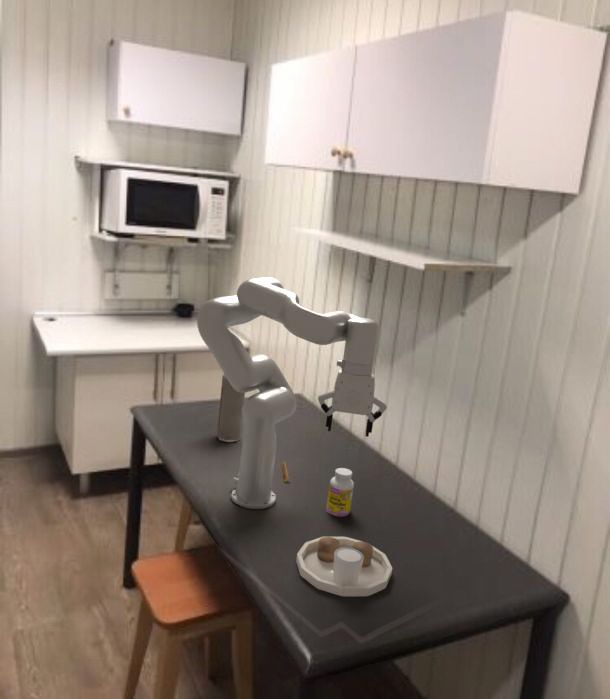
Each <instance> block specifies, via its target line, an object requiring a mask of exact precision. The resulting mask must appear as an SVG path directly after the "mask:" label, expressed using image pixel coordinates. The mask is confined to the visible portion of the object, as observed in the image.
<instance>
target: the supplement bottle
mask: <svg viewBox="0 0 610 699" xmlns="http://www.w3.org/2000/svg"><path fill="white" fill-rule="evenodd" d="M334 475H335V476H333V477H332V478H331V479H330V480H329V481H330V482H329V487H328V495H327V501H326V508H325V510H326V512H327V513H328V514H330V515H333V516H335V517H346V516H348V515H349V514H350V512H351V509H352V508H351V507H352V500H353V494H354V488H355V487H354V486H355V483H354V481H353V480H352V477H353V471H352V470H351V469H348V468H347V467H346V468H345V467H339V468H336V469H335V470H334Z"/></svg>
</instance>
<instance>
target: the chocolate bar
mask: <svg viewBox="0 0 610 699" xmlns="http://www.w3.org/2000/svg"><path fill="white" fill-rule="evenodd" d="M280 465H281V466H282V471H281V473H282V472H283V476H282V479H283V478H284V481H285V482H284V483H289V482H290V483H291V480H290V479H289V478H290V473H289V469H288V465H287V462H286V461H285V460H283V462H282V463H281V464H280ZM281 466H280V467H281ZM287 469H288V470H287ZM288 473H289V474H288Z"/></svg>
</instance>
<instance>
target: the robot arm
mask: <svg viewBox="0 0 610 699" xmlns="http://www.w3.org/2000/svg"><path fill="white" fill-rule="evenodd" d="M260 316H263V317H265V318H268V319H271V320H272V321H275V322H278V323H280V324H282V325H283V327H284V328H285V329H286V330H287V331H288V332H289V333H290V334H292V335H294V336H295V337H298V338H299V339H302V340H305V341H307V342H310V343H312V344H315V345H320V346H327V345H331V344H334V343H338V342H339V343H340V342H345V343H344V350H343V359H341V360H336V366H337V367H339V368H340V369H339V371H338V372H337V375H336V377H335V378H336V379H335V382H334V387H333V390H332V391H329V392H325V393H324V394H320V395H318V398H317V399H318V403H319V405H320V408H321V410H322V411H323V412H324V413H325V415H326V422H325V427H326V428H327V432H331V430H332V424H333V416H334V413H335V412H338V413H345V414H350V415H351V414H353V415H361V416H366V417H367V419H366V426H365V437H367V438H368V437H369V434H372V431H373V426H374V423H375V422H376V420H377V419H379V418H380V417H381V416H382V415H383V414H384V412H386V410H387V407H388V406H387V404H385V403H384V402H383V401H382V400H379V399H378V398H377V397H375V386H376V384H375V383H376V382H375V381H376V380H375V375H374V374H373V369H374V362H375V361H374V360H375V355H376V354H375V353H376V348H377V341H378V334H379V324H378V322H377V321H375V320H373V319H372V318H367V317H360V316H357V315H354V314H352V313H349V312H347V311H345V310H344V311H343V310H336V311H331V312H327V313H318V312H315V311H312V310H309V309H307V308H305V307H302V306H300V298H299V296H298V295H297V294H296V293H295V292H292V291H290V290H287V289H284V286H283V284H282V283H281V282H280V281H279V280H278V279H276V278H274V277H270V276H269V277H267V276H265V277H263V276H262V277H256V278H250V279H249V278H248V279H245V281H243V282H242V283H241V284H240V285H239V286H238V288H237V291H236V294H233V295H224V296H218V297H214V298H211V299H208V300H207V301H205V302H204V303H203V304H202V305H201V306H200V308H199V310H198V313H197V316H196V317H197V318H196V321H197V322H196V324H197V329H198V333H199V335H200V337H201V339H202V341H203V343H204V344H205V345H206V347H207V348H208V350H209V351H210V352H211V353H212V355H213V356H214V359H215V360H216V362H217V364H218V366H219V367H220V370H221V371H222V373H223V374H225V376H226V378H227V379H228V381H229V383H230V384H231V386H232V387H233V389H234V390H235V391H237V392H239V393H245V394H246V393H249V392H252V391H255V390H258V391H259V392H256V393H254V394H252V395H250V396H249V397H248V398H246V400H244V404H243V407H242V440H241V450H240V458H239V459H240V461H239V472H238V473H237V475H236V477H232V482H234V484H236V485H235V488H234V489H233V490H232V491H231V496H230V497H231V500H232V502H233V503H235V504H236V505H237V504H238V505H237V506H239V505H240V507H242V508H245V509H251V510H262V509H267V508H271V507H272V506H274V504H276V502H277V501H276V499H277V496H276V494H275V493H274V491H273V490H272V489H273V488H272V487H273V479H274V470H275V461H276V454H277V452H276V451H277V442H278V441H277V439H278V438H277V434H276V429H275V426H276V424H278V423H279V422H281V421H283V420H285V419H288V418H289V417H291V416H293V415H294V414H295V411H296V410H297V398H296V395H295V393H294V391H293V389H292V388H291V387H292V386H290V384H289V382H288V381H287V378H286V377H285V376H284V374H283V372H282V371H281V368H280V367H279V366H278V363H277V362H276V361H275V360H273V359H272V357H270V356H269V355H267V354H263V353H259V354H258V353H256V354H253V355H251V354H249V352H248V351H247V349H246V348H245V346H244V344H243V342H242V341H241V340H240V339H239V337H238V336H236V335H235V334H234V333H233V332H231V331H230V330H229V328H230V327H234V326H238V325H243V324H246V323H249V322H251V321H254V320H255V319H257V318H259V317H260ZM330 399H331V405H330V406H328V405H327V403H326V400H330ZM374 405H376V406H377V407H378V410H376V411H374V413H373V406H374Z"/></svg>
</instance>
